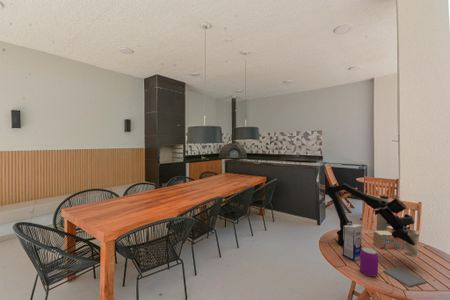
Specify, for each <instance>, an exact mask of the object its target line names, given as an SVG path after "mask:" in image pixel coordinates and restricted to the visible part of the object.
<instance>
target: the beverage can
mask: <svg viewBox="0 0 450 300" xmlns="http://www.w3.org/2000/svg"><path fill="white" fill-rule="evenodd" d="M359 270H360V272H362V273H363V274H364V275H365V276H368V277H376V276H378V274H379V272H378V271H379V255H378V253H377V250H376V249H374V248H371V247H367V246H365V247H364V246H363V247H361V252H360V259H359Z"/></svg>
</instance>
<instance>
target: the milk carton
mask: <svg viewBox="0 0 450 300" xmlns="http://www.w3.org/2000/svg"><path fill="white" fill-rule="evenodd" d="M362 231H363V224H358V223H357V224H356V223H353V222H352V223H347V225H346V226H344V229H343V246H342V256H343V257H344V258H347V259H349V260H351V261H352V262H356V261H359V260H360V252H361V250H362V241H363V240H362V237H363V235H362V234H363V233H362Z"/></svg>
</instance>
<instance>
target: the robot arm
mask: <svg viewBox="0 0 450 300" xmlns="http://www.w3.org/2000/svg"><path fill="white" fill-rule="evenodd" d="M343 191H344V192H346V193H348V194H349V195H352V196H353V197H356V198H358V199H359V200H361V201H363V202H364V203H365V204H366V205H367V206H369V208H372V209H374V215H375V216H377V214H380V215H381V216H382V217H383V218H384V219H385V221H386V223H387V224H389V225H390V226H391V227H392V228H393V229H392V230H393V232H392V236H393V237H394V238H400V239H402V240H404V241H406V242H407V243H409V244H411V245H413V246H414V245H415V243H414V242H413V241H412V239H411V238H410V237H409V236H408V231H406V229H411V226H410V225H415V220H414V217H413V216H412V215H410V214H408V213H406V214H404V216H402V217H399V216H398V215H395V214H400V213H401V212H403V211H405V210H407V209H408V208H407V206H406V204H405V203H404V202H403V201H401V200H400V199H398V198H397V197H395V198H393V200H391V201H389V202H386V201H382V200H381V199H380V197H378V196H374V195H370V194H367V193H365V192H363V191H361V190H359V189H357V188H355V187H353V186H351V185H350V184H348V183H342V184H338V185H335V184H332V185H329V186H327V187H326V190H325V192H326V193H327V195H328V197H329V198H331V200H332V203H333V206H334V208H335V210H336V214H337V217H338V219H339V227H340V228H339V230H338V231H336V235H337V240H336V241H335V242H336V243H337V244H338V245H340V246H342V247H343V229H344V226H346V225H347V223H352V224H353V221H352V220H349V219H348V217H347V215H346V214H347V213H346V212H345V209H344V206H343V203H342V202H341V198H340V192H343ZM386 206H388V207H386ZM384 207H386V208H384ZM378 208H380V209H379V210H377V209H378ZM388 208H389V209H388Z"/></svg>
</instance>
